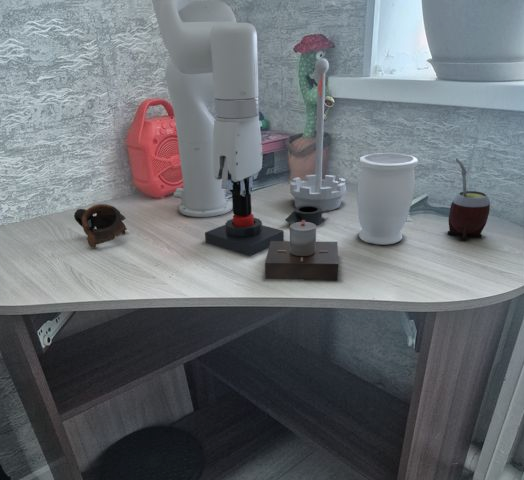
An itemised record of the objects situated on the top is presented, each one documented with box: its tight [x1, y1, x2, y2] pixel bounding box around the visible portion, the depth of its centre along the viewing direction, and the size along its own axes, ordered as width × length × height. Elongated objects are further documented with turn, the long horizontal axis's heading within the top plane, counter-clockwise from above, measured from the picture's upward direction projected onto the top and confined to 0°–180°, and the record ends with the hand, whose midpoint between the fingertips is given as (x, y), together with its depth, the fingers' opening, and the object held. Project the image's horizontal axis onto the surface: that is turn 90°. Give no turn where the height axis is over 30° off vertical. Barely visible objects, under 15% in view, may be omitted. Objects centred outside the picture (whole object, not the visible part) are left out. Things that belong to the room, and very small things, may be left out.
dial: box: [289, 220, 317, 256], centre depth 81 cm, size 4×4×5 cm
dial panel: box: [264, 240, 339, 282], centre depth 83 cm, size 12×10×3 cm
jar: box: [356, 152, 419, 246], centre depth 91 cm, size 11×10×15 cm
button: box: [232, 213, 255, 227], centre depth 93 cm, size 4×4×2 cm
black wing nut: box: [284, 205, 331, 227], centre depth 103 cm, size 8×10×3 cm
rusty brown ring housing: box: [73, 203, 128, 249], centre depth 98 cm, size 12×10×8 cm
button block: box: [204, 217, 285, 257], centre depth 95 cm, size 12×10×4 cm
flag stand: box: [289, 57, 347, 211], centre depth 107 cm, size 13×13×30 cm
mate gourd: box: [447, 158, 491, 242], centre depth 90 cm, size 8×8×15 cm
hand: (242, 214), depth 93 cm, fingers closed
